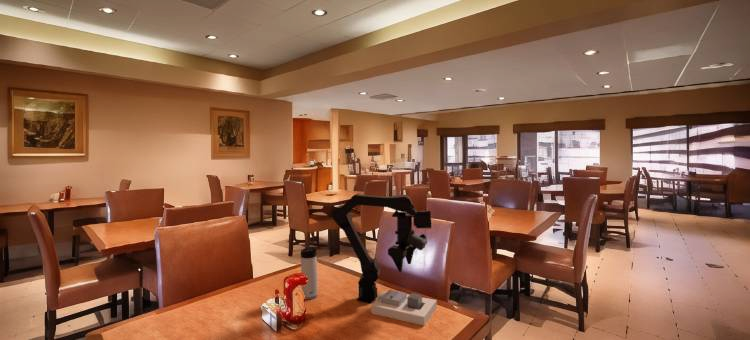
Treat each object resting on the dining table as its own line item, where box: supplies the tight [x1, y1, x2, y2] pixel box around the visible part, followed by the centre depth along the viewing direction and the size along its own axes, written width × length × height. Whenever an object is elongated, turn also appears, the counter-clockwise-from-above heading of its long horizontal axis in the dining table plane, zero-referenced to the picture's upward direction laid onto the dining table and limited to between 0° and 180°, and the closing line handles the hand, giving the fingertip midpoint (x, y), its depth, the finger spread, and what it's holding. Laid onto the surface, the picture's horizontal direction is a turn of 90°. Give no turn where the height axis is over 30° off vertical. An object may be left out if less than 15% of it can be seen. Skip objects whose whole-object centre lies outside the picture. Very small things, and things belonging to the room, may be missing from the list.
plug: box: [407, 293, 423, 310], centre depth 124 cm, size 4×4×6 cm
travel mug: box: [300, 246, 319, 301], centre depth 139 cm, size 6×7×20 cm
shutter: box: [381, 289, 408, 306], centre depth 127 cm, size 7×7×3 cm
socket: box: [370, 290, 438, 326], centre depth 126 cm, size 20×14×4 cm
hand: (404, 267), depth 133 cm, fingers open, 9 cm apart
